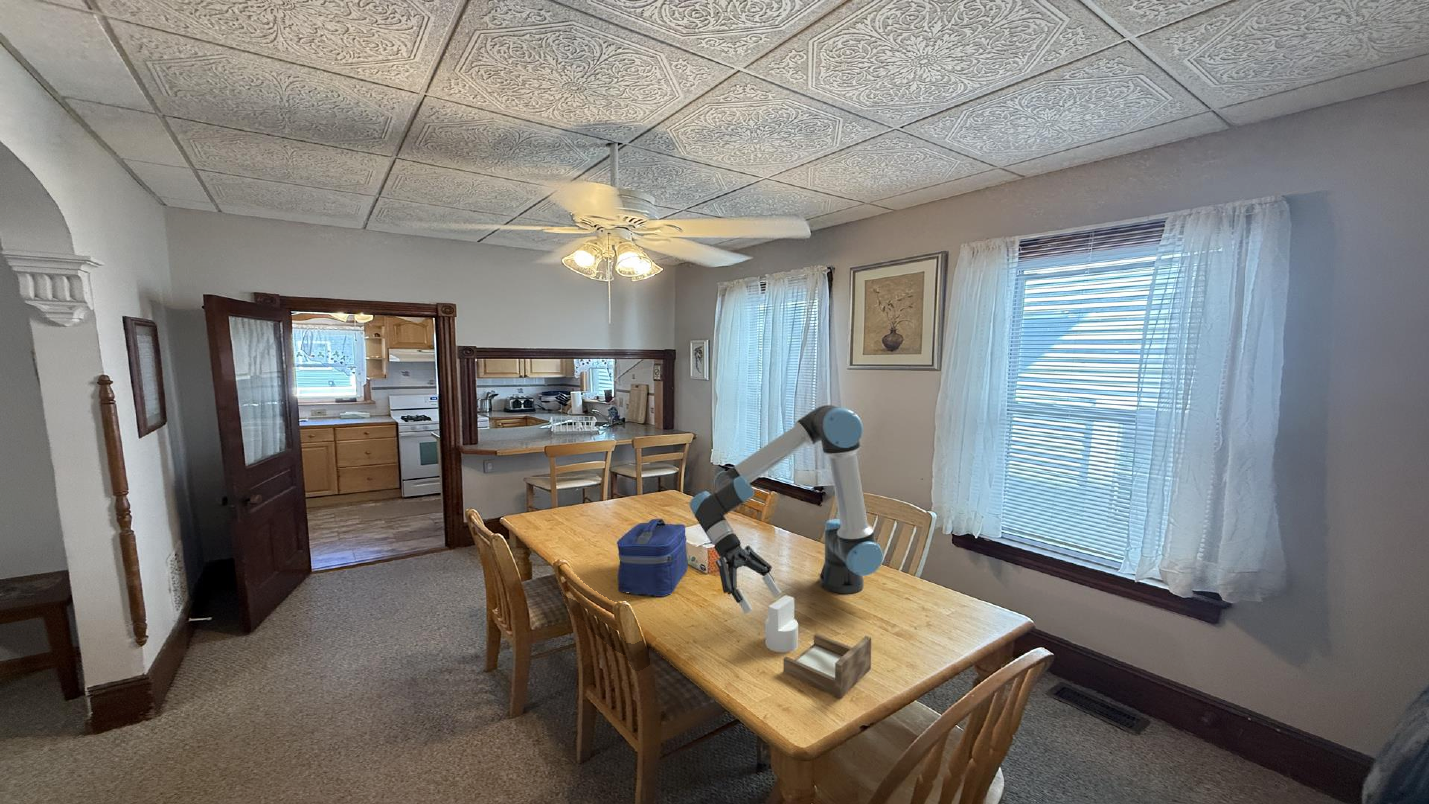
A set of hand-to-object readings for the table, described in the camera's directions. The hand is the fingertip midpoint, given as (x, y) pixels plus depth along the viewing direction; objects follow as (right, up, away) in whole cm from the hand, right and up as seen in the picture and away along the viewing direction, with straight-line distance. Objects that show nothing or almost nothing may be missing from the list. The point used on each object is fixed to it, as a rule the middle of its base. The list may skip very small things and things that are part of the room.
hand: (763, 603), depth 148 cm
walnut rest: (+15, -11, -15) cm, 24 cm away
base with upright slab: (+5, -11, -2) cm, 12 cm away
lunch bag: (-36, -8, +42) cm, 55 cm away
